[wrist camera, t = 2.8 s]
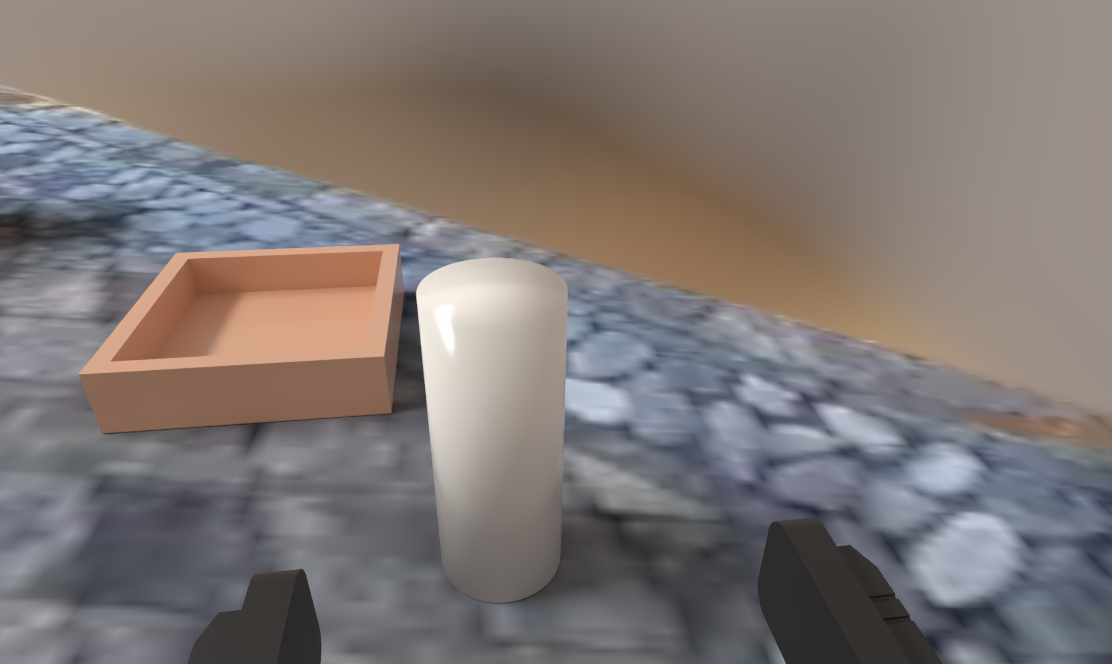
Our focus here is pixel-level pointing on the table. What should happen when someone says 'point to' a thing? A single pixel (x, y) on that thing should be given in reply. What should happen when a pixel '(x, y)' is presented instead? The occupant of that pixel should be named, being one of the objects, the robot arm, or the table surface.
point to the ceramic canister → (496, 421)
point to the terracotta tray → (254, 340)
